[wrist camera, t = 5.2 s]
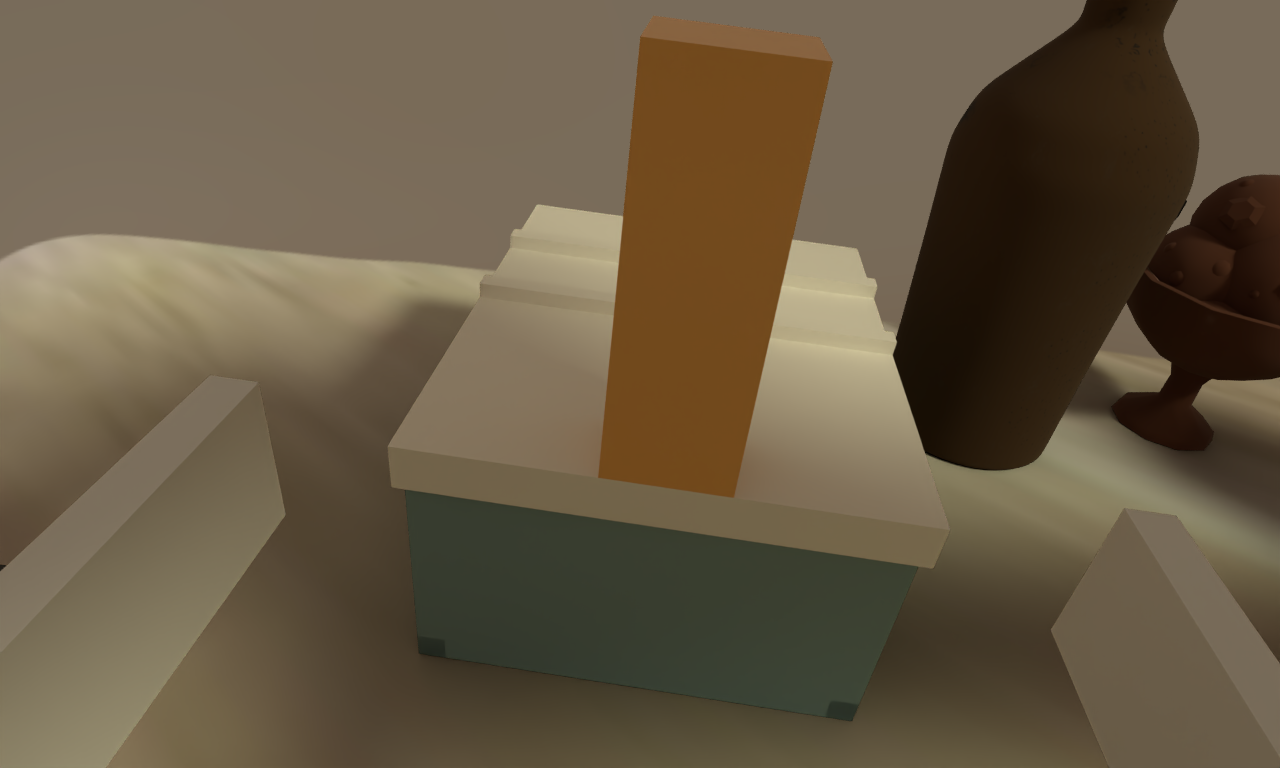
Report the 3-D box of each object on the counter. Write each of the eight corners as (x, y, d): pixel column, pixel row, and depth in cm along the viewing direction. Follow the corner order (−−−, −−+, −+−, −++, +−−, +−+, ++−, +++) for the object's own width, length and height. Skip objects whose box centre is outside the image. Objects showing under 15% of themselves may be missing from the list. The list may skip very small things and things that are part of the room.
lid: (849, 277, 40) (929, -13, 33) (933, 568, 23) (1141, 102, 16) (536, 233, 41) (545, -62, 33) (391, 487, 24) (343, -2, 16)
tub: (808, 408, 45) (842, 283, 40) (851, 720, 28) (918, 566, 24) (536, 368, 45) (540, 241, 41) (418, 653, 28) (404, 489, 24)
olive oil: (925, 486, 40) (1152, -74, 26) (837, 374, 48) (974, -94, 35) (1096, 473, 42) (1385, -44, 29) (984, 368, 51) (1166, -70, 37)
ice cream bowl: (1038, 410, 47) (1153, 169, 39) (1107, 358, 54) (1217, 142, 46) (1231, 508, 41) (1416, 245, 33) (1282, 435, 48) (1446, 202, 39)
